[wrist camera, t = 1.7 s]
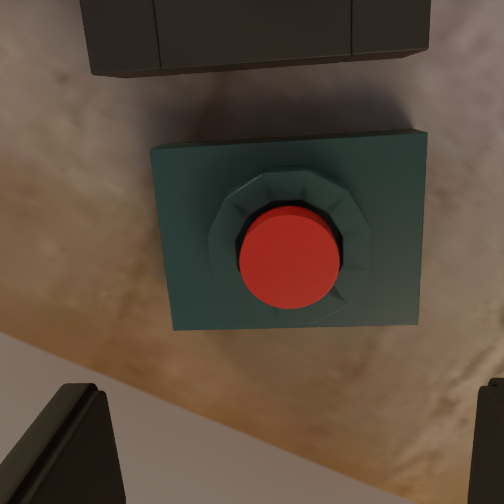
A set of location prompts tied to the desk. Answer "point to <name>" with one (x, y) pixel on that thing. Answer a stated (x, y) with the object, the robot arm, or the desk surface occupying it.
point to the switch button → (289, 257)
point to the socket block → (247, 34)
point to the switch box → (299, 194)
